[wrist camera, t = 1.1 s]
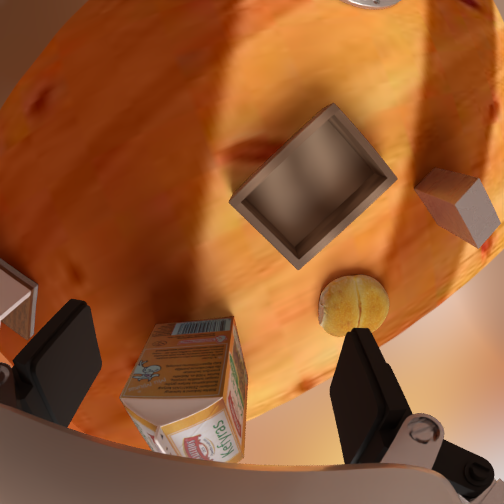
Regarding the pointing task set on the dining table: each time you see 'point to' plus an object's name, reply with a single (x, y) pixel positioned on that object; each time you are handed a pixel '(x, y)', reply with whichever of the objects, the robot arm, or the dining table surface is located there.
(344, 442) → the robot arm
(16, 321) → the light grey boxy piece
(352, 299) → the bread roll
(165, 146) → the dining table surface
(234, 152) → the dining table surface
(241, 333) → the dining table surface
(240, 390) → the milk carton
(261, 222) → the open box
